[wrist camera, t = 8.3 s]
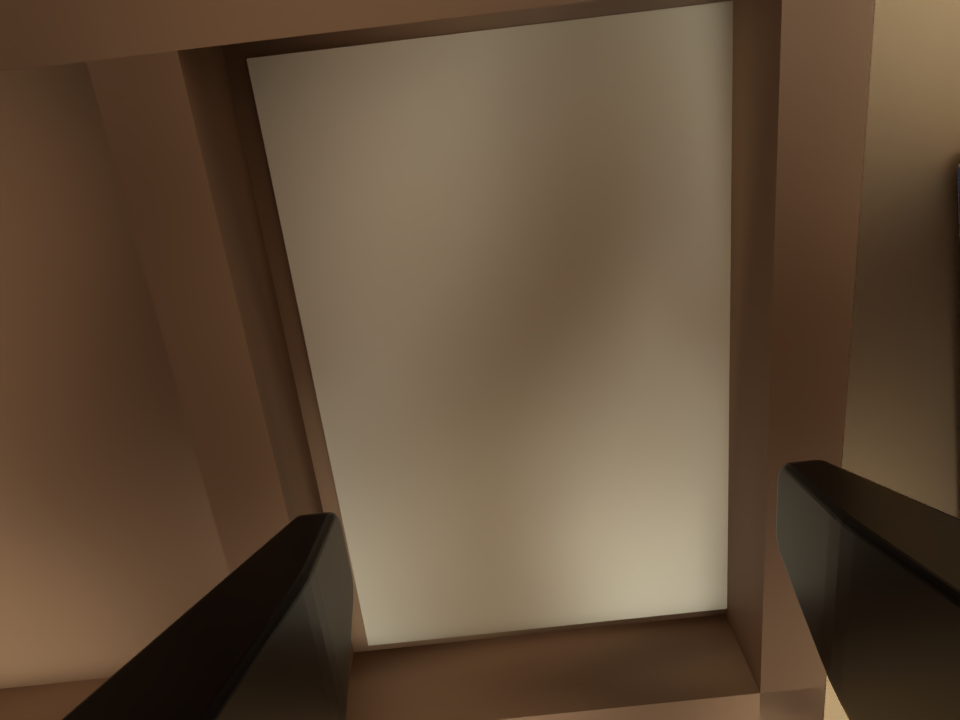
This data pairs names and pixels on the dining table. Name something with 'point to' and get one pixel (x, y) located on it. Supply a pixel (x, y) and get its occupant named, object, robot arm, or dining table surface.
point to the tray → (429, 335)
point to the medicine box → (959, 198)
